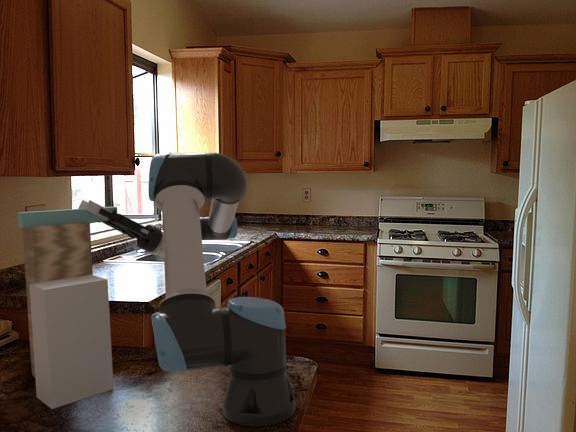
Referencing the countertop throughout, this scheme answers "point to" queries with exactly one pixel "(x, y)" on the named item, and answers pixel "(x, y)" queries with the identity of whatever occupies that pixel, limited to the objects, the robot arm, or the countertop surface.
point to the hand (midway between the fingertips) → (84, 204)
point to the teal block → (57, 217)
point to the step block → (71, 339)
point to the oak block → (55, 258)
